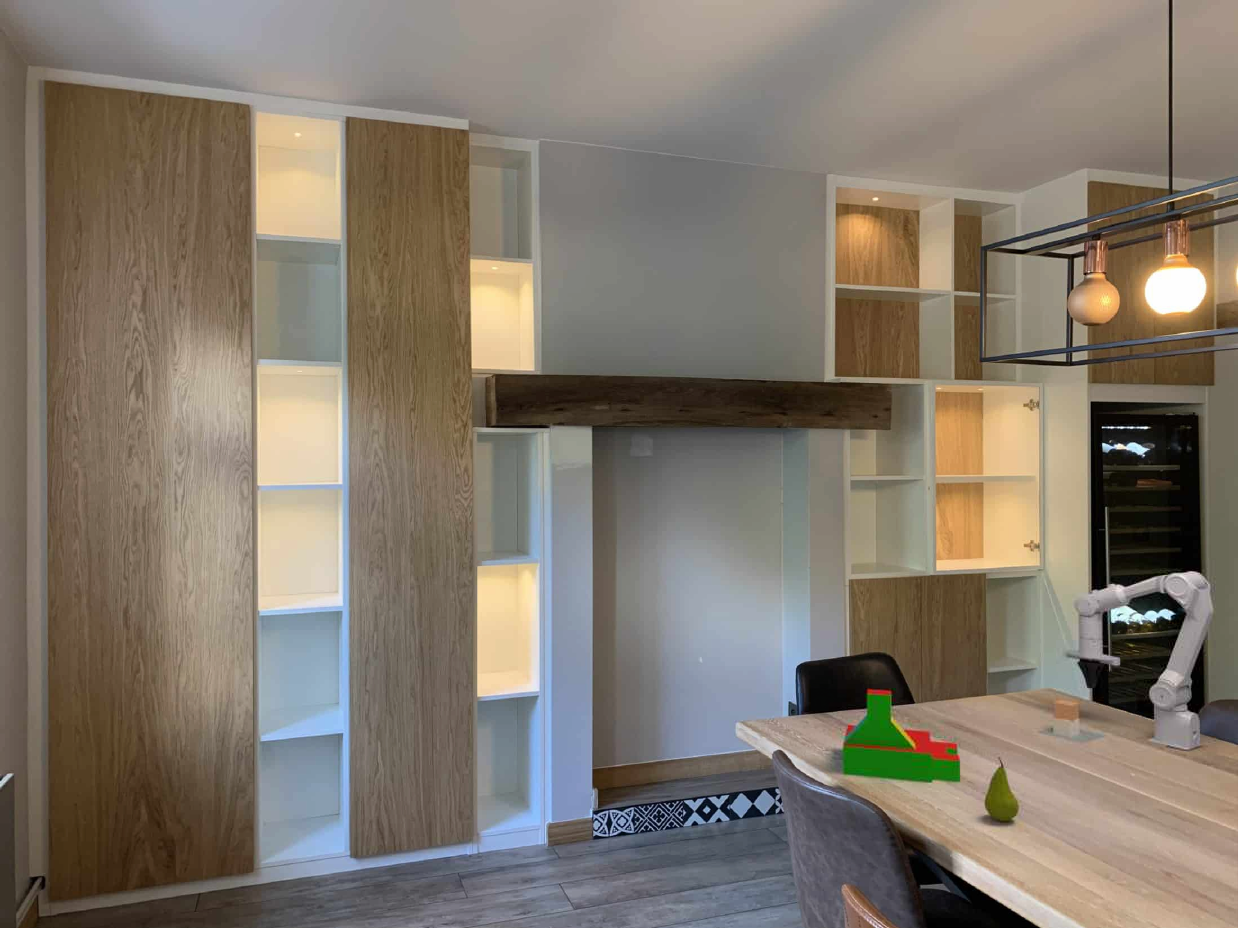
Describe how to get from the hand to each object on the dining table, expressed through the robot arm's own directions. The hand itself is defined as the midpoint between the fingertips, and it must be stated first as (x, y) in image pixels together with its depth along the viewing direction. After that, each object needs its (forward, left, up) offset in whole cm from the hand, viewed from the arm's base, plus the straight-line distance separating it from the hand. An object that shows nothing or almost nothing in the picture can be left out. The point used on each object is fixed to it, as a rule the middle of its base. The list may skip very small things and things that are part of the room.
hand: (1091, 687), depth 241 cm
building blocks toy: (+7, +73, -11) cm, 74 cm away
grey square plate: (-2, +14, -10) cm, 18 cm away
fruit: (-25, +84, -11) cm, 88 cm away
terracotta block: (-1, +15, -6) cm, 16 cm away
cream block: (-1, +15, -10) cm, 18 cm away
